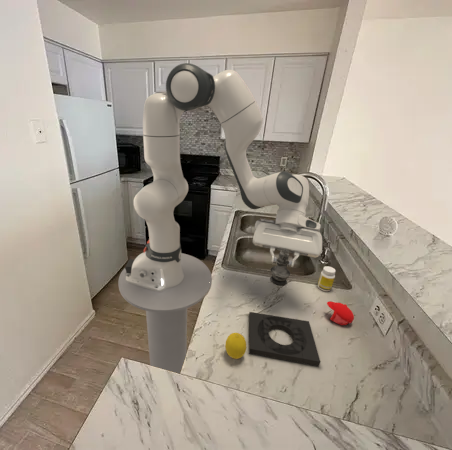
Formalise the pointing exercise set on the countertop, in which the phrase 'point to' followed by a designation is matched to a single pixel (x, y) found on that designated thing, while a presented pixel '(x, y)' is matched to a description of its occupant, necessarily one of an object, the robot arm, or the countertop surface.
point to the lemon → (235, 345)
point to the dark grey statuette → (280, 269)
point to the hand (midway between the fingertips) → (282, 264)
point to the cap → (341, 313)
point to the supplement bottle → (326, 278)
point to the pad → (266, 346)
